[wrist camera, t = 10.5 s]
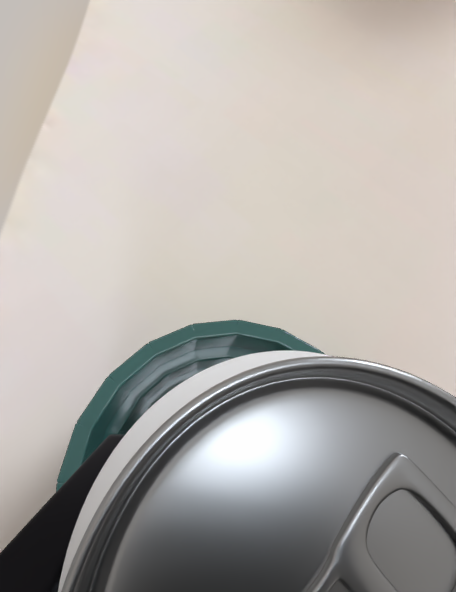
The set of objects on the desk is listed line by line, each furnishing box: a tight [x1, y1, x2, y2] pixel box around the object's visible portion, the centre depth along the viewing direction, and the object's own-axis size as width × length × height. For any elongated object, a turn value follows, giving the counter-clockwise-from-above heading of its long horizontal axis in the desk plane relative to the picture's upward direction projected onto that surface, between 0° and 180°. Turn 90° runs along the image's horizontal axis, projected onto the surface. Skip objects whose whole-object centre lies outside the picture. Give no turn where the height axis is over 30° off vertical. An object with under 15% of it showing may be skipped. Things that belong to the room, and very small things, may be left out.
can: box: [58, 350, 456, 592], centre depth 9 cm, size 6×6×12 cm
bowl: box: [56, 320, 324, 492], centre depth 13 cm, size 11×11×5 cm
